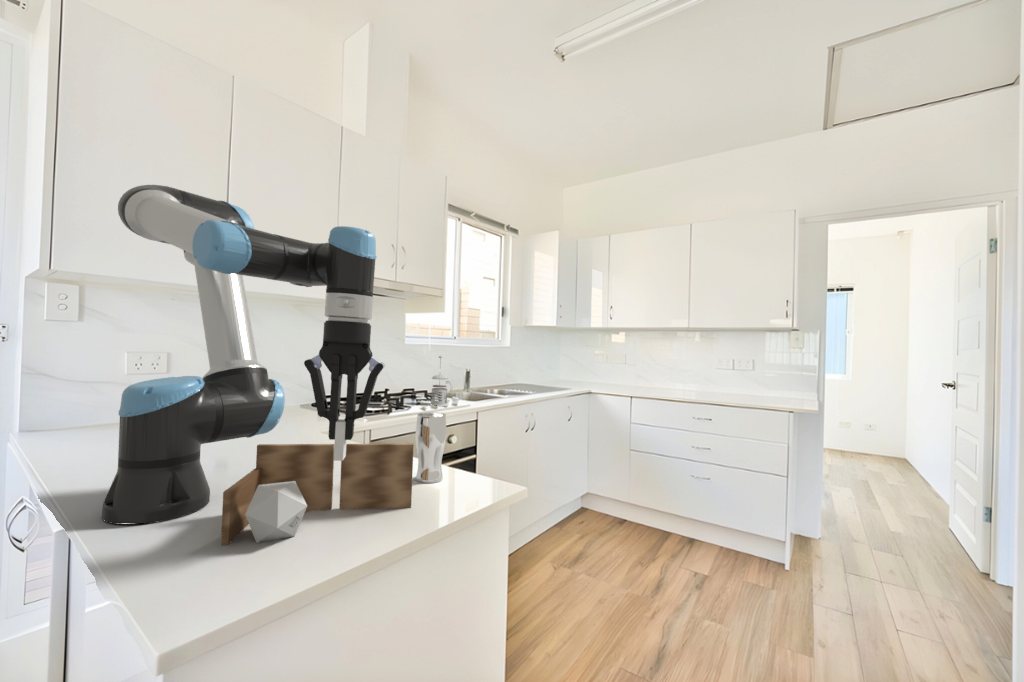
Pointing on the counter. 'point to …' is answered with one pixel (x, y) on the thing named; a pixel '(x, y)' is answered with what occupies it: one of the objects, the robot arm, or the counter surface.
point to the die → (276, 511)
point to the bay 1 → (276, 466)
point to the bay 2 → (376, 476)
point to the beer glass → (430, 446)
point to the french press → (443, 390)
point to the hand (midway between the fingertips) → (339, 458)
